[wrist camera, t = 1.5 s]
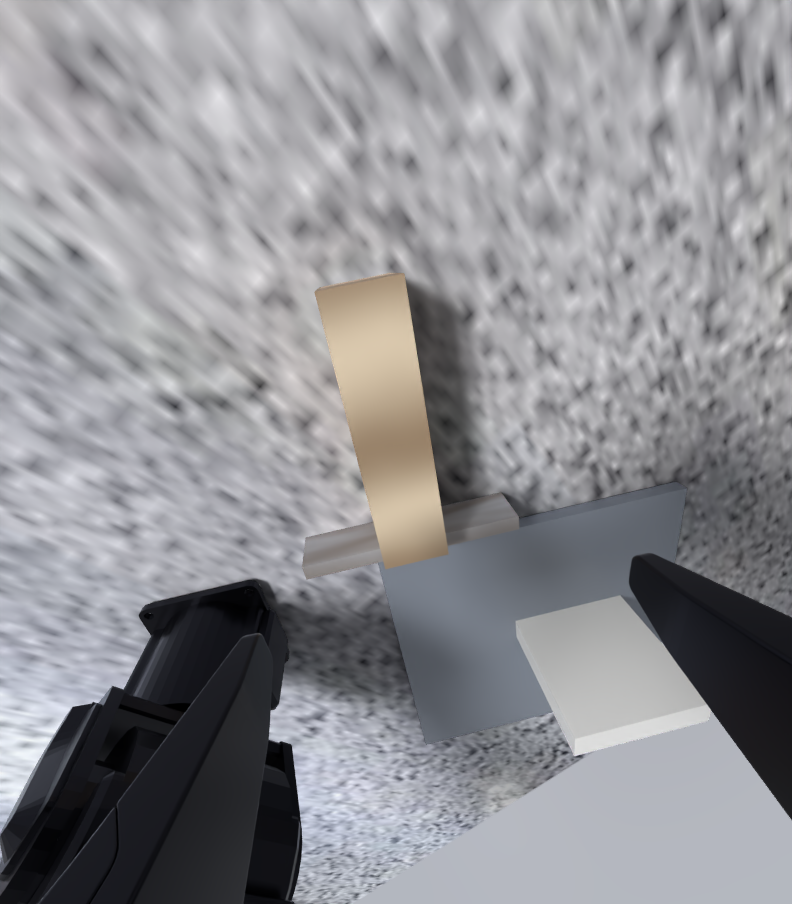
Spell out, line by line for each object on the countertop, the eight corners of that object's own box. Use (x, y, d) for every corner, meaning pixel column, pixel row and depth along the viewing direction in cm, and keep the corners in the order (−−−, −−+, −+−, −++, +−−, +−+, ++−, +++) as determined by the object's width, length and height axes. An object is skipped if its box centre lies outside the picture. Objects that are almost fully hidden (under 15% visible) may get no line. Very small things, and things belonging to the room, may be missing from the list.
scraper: (224, 307, 16) (192, 317, 13) (481, 253, 17) (521, 249, 13) (310, 547, 22) (304, 602, 18) (501, 503, 22) (532, 547, 19)
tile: (516, 638, 26) (574, 757, 19) (515, 621, 25) (574, 739, 19) (618, 613, 26) (707, 723, 20) (620, 595, 25) (713, 702, 19)
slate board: (423, 733, 30) (425, 744, 29) (376, 551, 22) (377, 561, 22) (646, 676, 31) (654, 686, 30) (676, 481, 23) (687, 488, 22)
